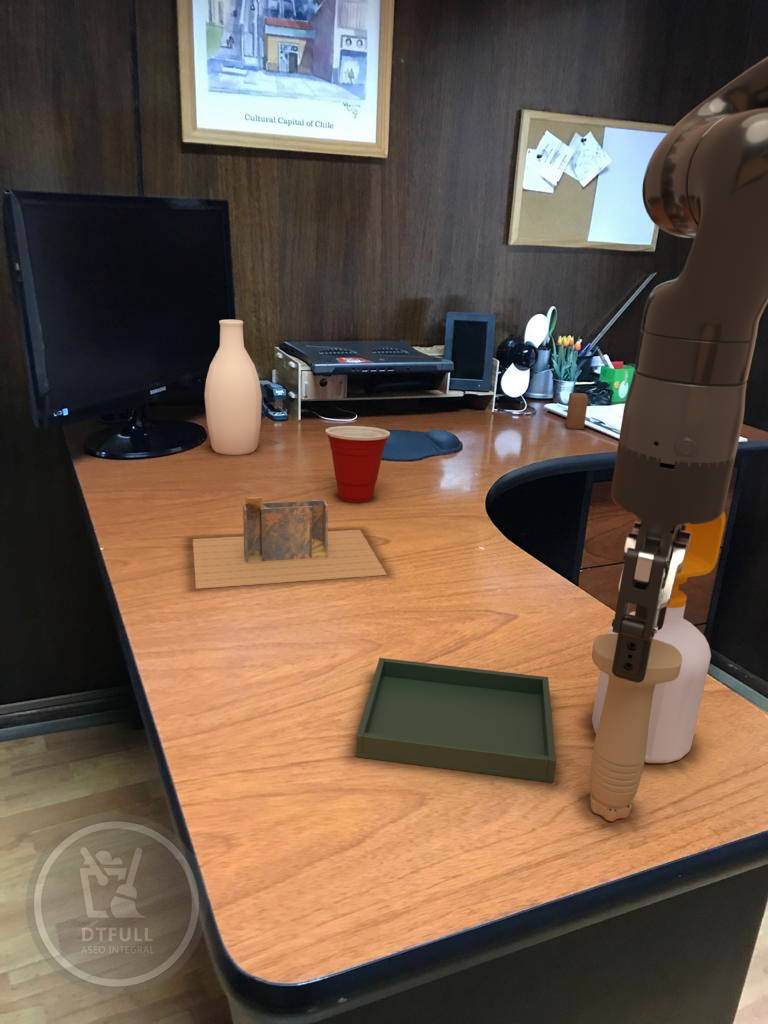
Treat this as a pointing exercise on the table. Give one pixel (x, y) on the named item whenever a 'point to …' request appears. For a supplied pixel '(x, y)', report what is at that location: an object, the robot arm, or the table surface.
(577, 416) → the wooden block
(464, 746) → the brush tray
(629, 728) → the handle
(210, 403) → the bottle
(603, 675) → the soap bottle
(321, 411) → the table surface
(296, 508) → the ruin model on sheet
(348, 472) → the plastic cup
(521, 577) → the table surface
